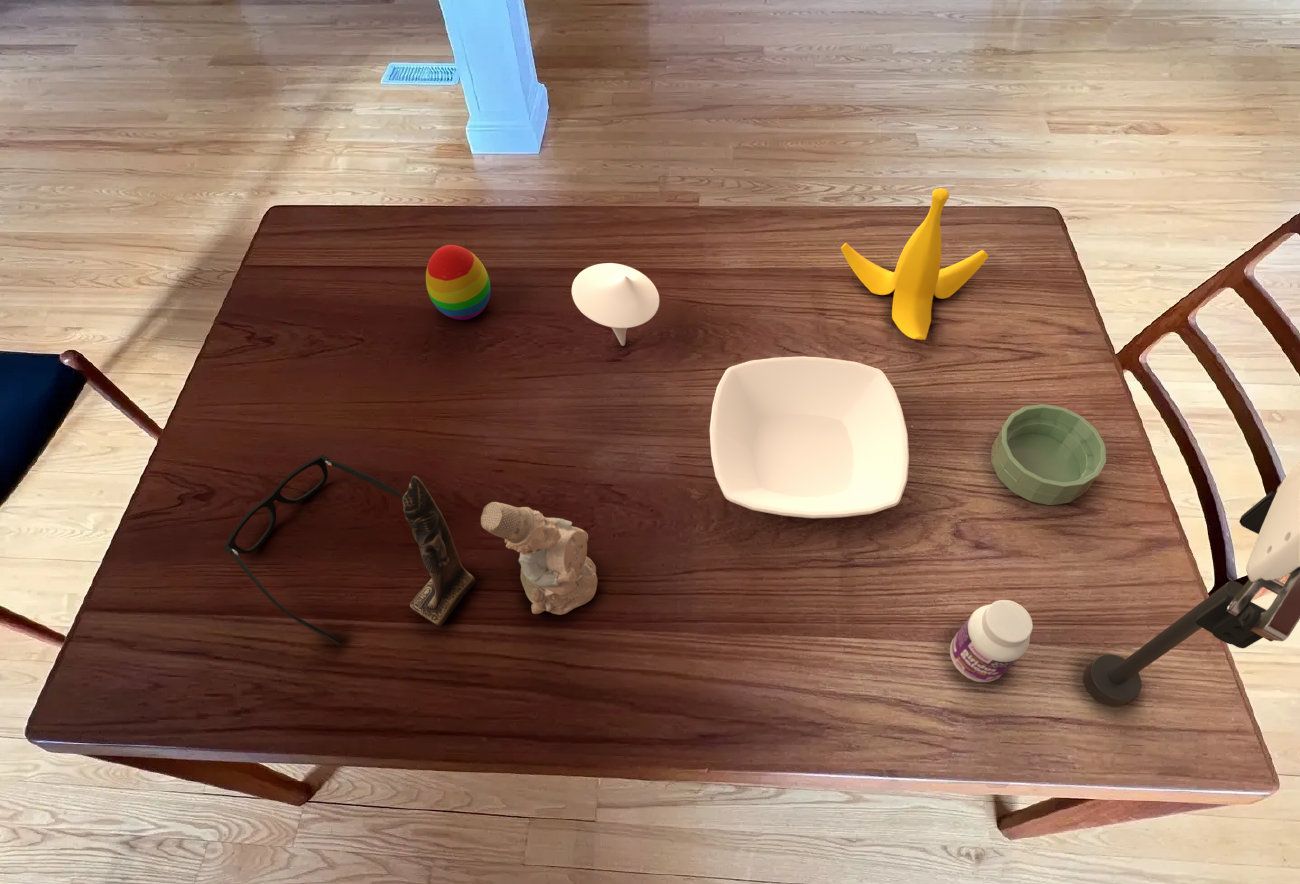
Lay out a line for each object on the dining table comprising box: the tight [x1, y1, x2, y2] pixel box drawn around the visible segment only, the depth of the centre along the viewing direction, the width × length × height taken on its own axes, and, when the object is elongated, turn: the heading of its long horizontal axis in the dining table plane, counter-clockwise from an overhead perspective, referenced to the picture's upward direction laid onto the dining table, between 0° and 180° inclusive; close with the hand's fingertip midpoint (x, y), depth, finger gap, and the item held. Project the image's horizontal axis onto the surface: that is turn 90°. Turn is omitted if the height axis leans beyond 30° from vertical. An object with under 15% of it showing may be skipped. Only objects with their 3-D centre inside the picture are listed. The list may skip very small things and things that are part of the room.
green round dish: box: [990, 403, 1107, 506], centre depth 87 cm, size 11×11×4 cm
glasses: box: [223, 453, 404, 645], centre depth 86 cm, size 17×18×5 cm
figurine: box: [480, 501, 599, 616], centre depth 76 cm, size 9×8×20 cm
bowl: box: [709, 356, 910, 519], centre depth 89 cm, size 22×22×5 cm
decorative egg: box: [425, 244, 491, 321], centre depth 104 cm, size 8×8×10 cm
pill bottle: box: [949, 599, 1034, 683], centre depth 74 cm, size 5×5×10 cm
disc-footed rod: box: [1082, 580, 1244, 708], centre depth 66 cm, size 4×4×22 cm
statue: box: [401, 475, 476, 627], centre depth 76 cm, size 4×7×20 cm, turn 149°
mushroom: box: [571, 262, 660, 347], centre depth 98 cm, size 10×11×12 cm
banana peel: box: [840, 187, 989, 341], centre depth 97 cm, size 16×19×17 cm
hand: (1240, 580), depth 57 cm, fingers open, 9 cm apart
